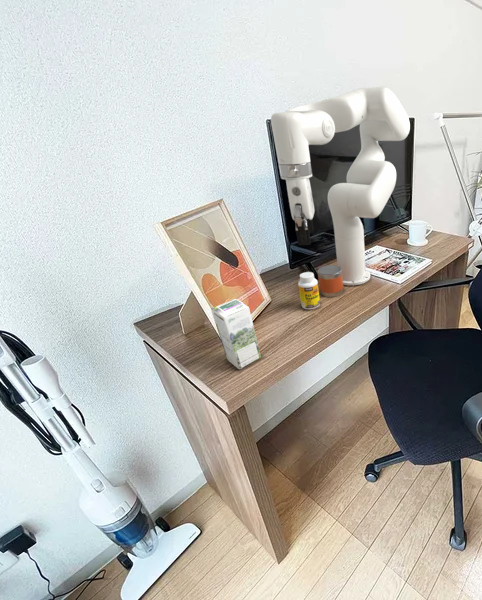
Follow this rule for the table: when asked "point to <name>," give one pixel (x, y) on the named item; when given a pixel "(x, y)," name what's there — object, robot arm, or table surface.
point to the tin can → (330, 280)
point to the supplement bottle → (308, 291)
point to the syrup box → (236, 333)
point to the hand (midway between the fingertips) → (306, 238)
